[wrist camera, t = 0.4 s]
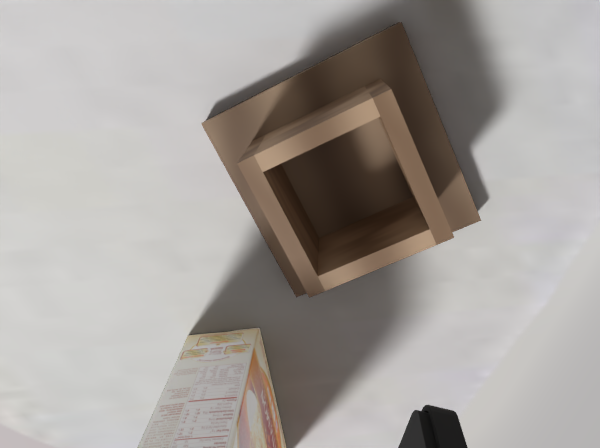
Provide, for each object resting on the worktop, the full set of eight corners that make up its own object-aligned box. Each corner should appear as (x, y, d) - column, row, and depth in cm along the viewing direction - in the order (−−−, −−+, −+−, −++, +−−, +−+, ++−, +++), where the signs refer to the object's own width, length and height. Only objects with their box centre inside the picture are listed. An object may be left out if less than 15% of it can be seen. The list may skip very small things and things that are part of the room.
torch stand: (398, 22, 38) (418, 20, 30) (475, 214, 42) (510, 256, 34) (205, 120, 41) (176, 142, 33) (297, 288, 45) (291, 344, 37)
